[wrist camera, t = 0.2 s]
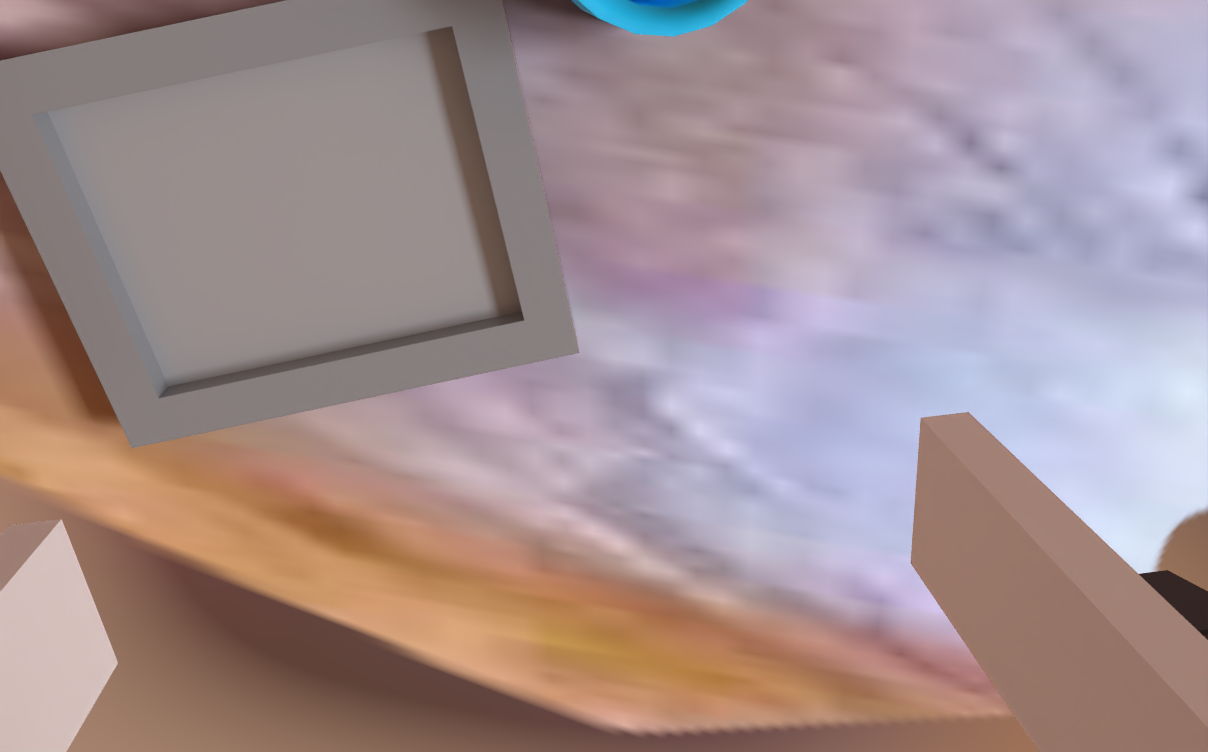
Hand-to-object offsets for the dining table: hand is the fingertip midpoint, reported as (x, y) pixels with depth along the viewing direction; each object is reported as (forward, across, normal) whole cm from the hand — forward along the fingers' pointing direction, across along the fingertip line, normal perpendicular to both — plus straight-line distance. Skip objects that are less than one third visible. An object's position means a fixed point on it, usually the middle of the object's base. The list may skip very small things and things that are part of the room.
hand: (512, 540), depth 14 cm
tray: (+27, -9, 0) cm, 28 cm away
